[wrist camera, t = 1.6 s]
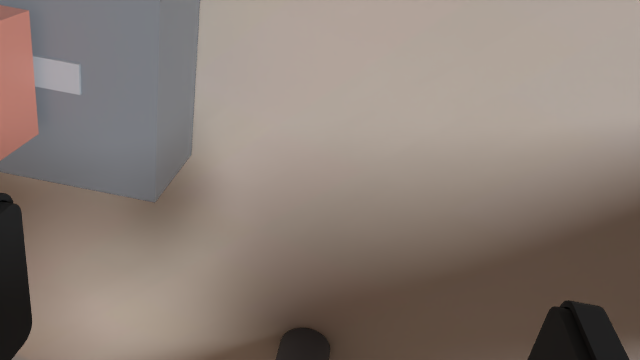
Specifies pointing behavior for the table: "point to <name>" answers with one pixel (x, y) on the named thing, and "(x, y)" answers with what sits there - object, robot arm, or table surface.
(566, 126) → the table surface
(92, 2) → the box
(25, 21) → the switch
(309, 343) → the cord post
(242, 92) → the table surface
